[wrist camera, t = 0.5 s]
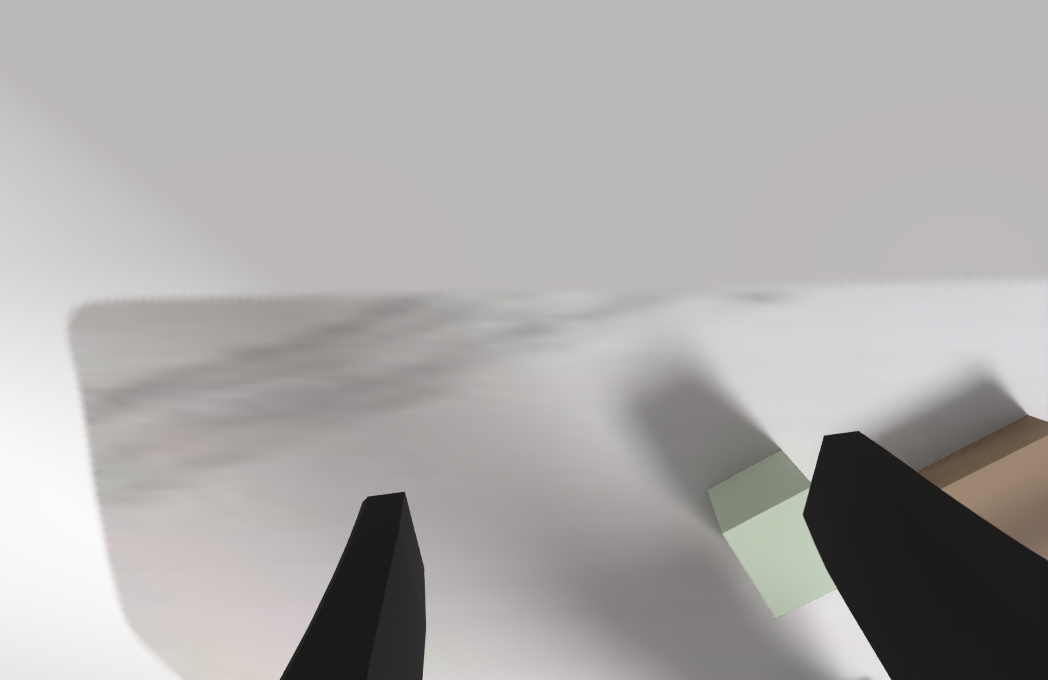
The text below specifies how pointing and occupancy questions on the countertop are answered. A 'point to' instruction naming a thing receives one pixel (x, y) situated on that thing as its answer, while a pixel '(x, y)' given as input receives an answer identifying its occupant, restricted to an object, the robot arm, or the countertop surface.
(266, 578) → the countertop surface
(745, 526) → the sage block
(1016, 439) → the walnut block
